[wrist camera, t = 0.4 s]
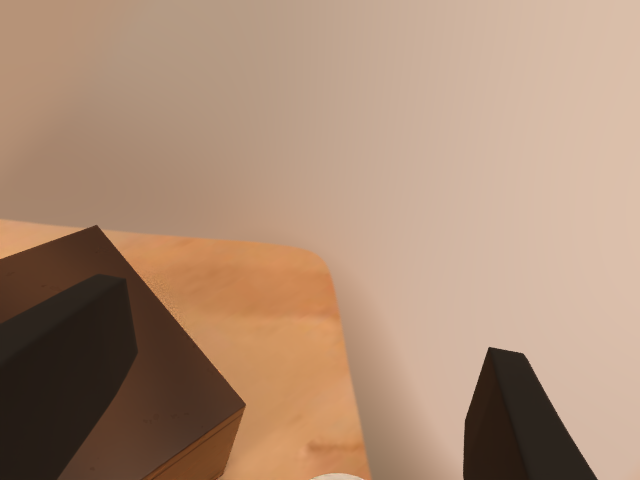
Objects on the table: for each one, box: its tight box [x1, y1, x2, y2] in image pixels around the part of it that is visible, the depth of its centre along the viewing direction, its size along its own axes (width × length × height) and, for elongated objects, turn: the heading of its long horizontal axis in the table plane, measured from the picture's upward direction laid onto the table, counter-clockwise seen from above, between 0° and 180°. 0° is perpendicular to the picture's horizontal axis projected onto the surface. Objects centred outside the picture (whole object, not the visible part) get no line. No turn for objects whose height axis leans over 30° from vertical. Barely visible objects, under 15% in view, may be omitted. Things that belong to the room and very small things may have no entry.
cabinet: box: [0, 225, 246, 480], centre depth 23 cm, size 15×13×8 cm
